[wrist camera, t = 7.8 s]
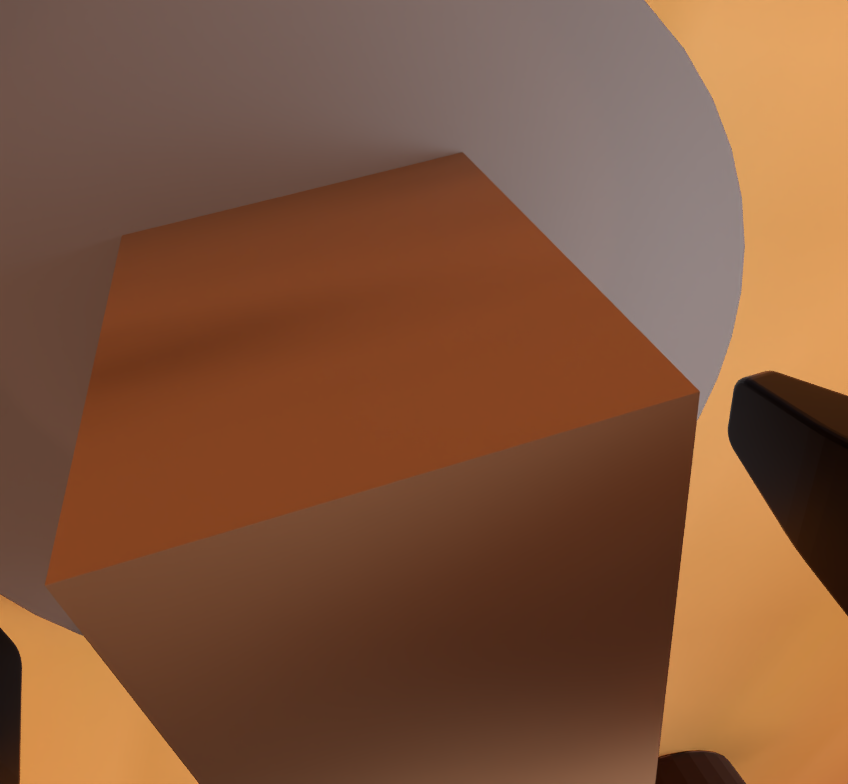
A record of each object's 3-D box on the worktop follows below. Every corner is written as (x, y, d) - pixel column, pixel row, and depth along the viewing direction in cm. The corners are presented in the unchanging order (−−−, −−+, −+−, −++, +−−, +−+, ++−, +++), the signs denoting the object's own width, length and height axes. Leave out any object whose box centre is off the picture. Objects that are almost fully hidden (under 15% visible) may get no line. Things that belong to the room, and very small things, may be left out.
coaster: (687, 527, 15) (703, 548, 14) (110, 711, 13) (107, 740, 13) (778, -226, 7) (817, -233, 7) (-471, 9, 6) (-527, 21, 6)
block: (503, 501, 12) (653, 802, 8) (272, 571, 12) (310, 927, 8) (462, 151, 8) (699, 392, 4) (121, 235, 8) (45, 584, 4)
